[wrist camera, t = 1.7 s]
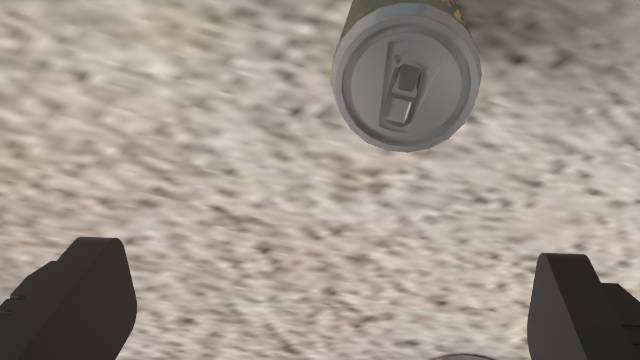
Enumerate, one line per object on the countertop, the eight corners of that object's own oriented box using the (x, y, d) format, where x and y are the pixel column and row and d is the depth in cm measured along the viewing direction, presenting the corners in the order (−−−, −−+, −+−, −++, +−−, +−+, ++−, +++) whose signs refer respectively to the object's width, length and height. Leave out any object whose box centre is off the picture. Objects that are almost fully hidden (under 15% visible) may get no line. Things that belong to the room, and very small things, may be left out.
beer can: (435, 74, 32) (455, 173, 21) (340, 51, 32) (313, 138, 21) (468, -26, 29) (509, 30, 19) (364, -51, 29) (347, -10, 19)
